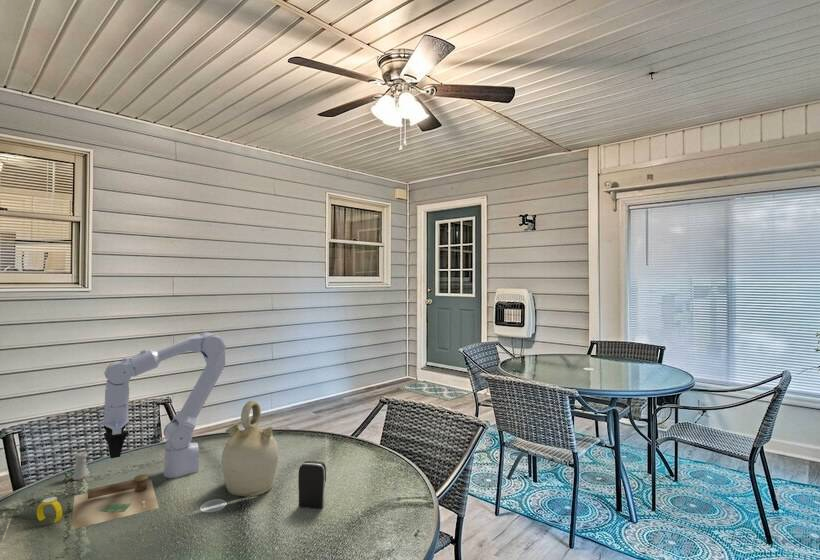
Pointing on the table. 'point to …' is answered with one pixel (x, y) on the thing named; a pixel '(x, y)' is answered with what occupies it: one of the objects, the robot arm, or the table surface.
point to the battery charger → (312, 484)
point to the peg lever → (120, 487)
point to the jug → (249, 456)
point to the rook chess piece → (80, 466)
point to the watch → (54, 503)
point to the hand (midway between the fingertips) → (114, 452)
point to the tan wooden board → (112, 506)
